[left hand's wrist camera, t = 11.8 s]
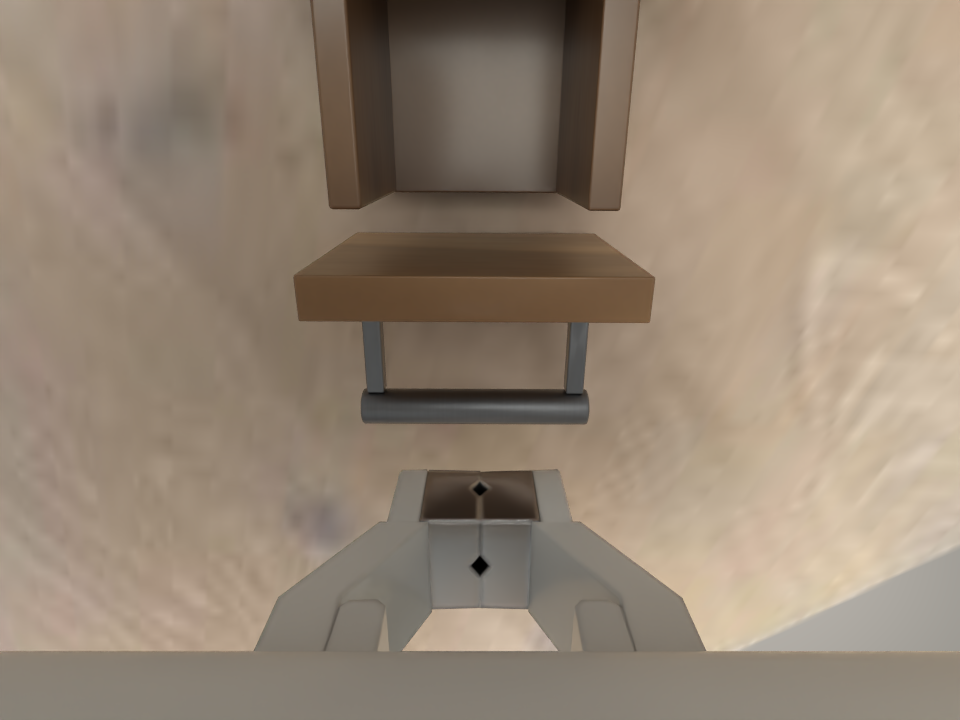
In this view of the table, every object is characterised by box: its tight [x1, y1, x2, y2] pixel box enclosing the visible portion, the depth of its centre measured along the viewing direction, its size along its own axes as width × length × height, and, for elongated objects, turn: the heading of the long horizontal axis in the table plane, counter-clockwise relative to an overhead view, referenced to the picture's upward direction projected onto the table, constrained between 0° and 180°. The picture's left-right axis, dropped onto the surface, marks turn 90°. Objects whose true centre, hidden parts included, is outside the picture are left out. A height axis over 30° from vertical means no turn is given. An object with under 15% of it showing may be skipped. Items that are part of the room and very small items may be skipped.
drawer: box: [293, 0, 655, 424], centre depth 15 cm, size 23×9×8 cm, turn 0°
